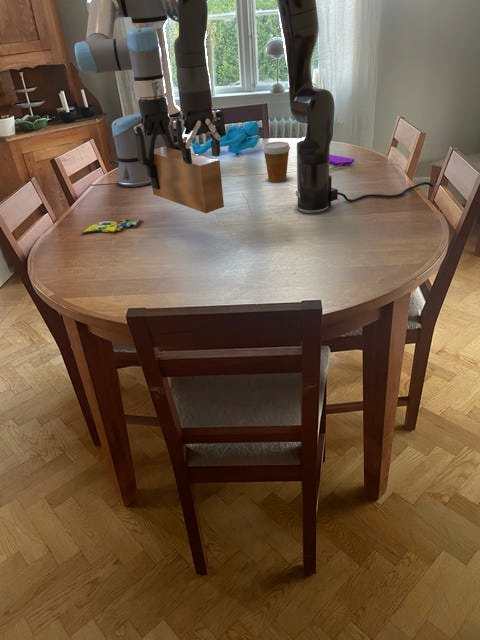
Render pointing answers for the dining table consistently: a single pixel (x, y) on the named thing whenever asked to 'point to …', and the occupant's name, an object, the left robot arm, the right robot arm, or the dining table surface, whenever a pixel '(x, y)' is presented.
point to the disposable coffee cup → (276, 160)
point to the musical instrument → (340, 160)
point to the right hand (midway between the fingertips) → (202, 159)
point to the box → (189, 180)
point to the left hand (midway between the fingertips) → (166, 184)
